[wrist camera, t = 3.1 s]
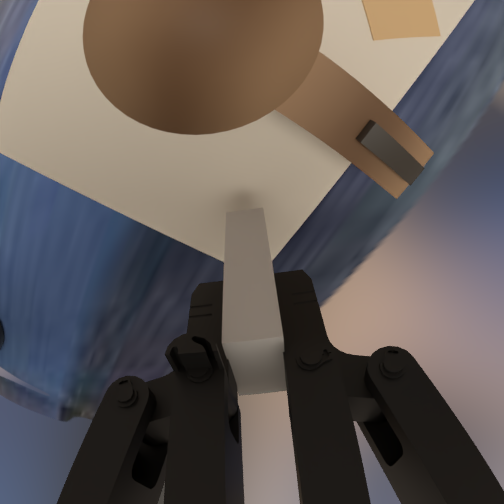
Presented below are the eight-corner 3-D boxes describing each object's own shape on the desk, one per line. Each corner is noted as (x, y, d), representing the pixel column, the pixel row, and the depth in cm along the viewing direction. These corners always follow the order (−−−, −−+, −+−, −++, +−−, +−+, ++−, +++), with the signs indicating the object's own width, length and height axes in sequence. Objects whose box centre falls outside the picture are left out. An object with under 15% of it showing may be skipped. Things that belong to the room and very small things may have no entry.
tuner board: (1, 140, 13) (-11, 148, 12) (196, -166, 3) (195, -176, 2) (256, 265, 20) (258, 278, 19) (467, -7, 10) (481, -8, 9)
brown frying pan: (101, 69, 11) (49, 82, 7) (184, -59, 8) (164, -102, 4) (336, 199, 16) (369, 253, 12) (418, 95, 12) (479, 120, 9)
